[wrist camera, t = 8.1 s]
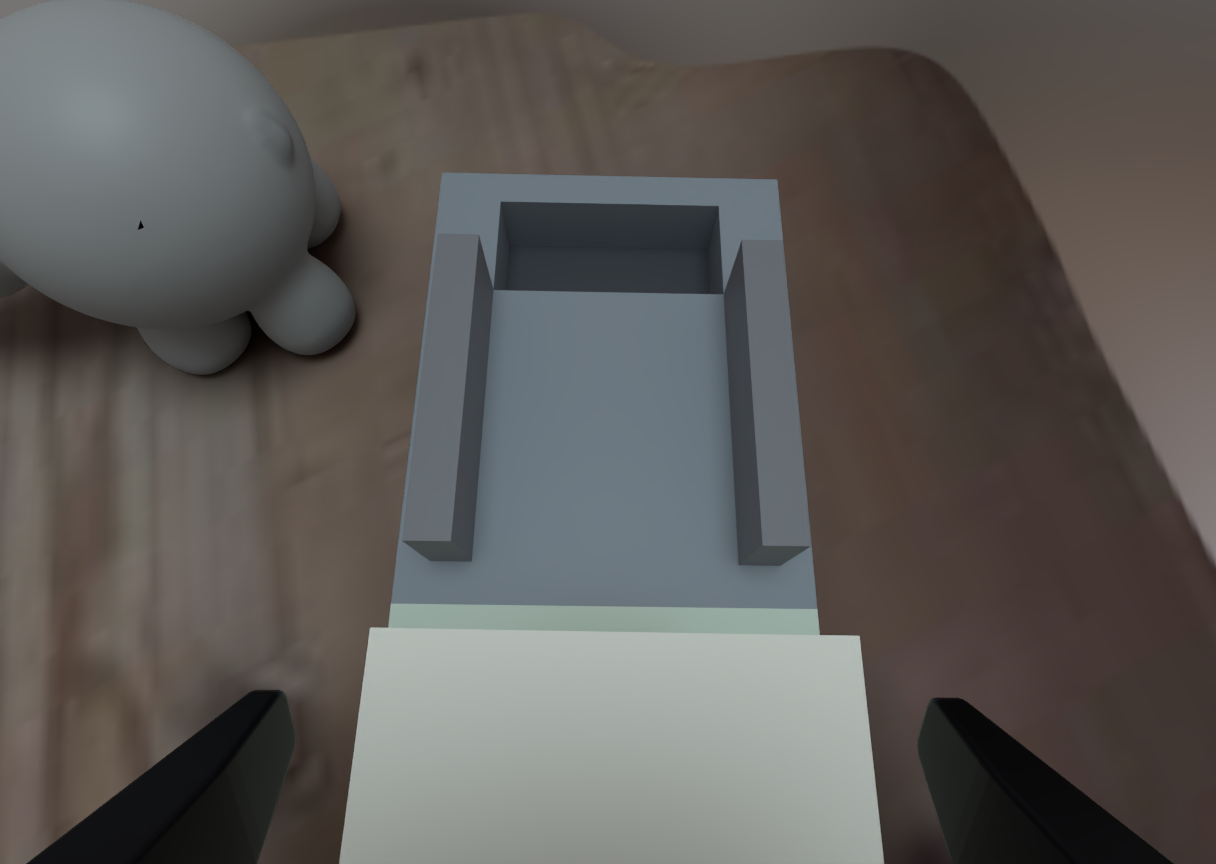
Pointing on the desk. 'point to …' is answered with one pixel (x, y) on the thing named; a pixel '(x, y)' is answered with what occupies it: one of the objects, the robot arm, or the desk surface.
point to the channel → (606, 413)
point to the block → (611, 749)
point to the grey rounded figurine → (160, 185)
